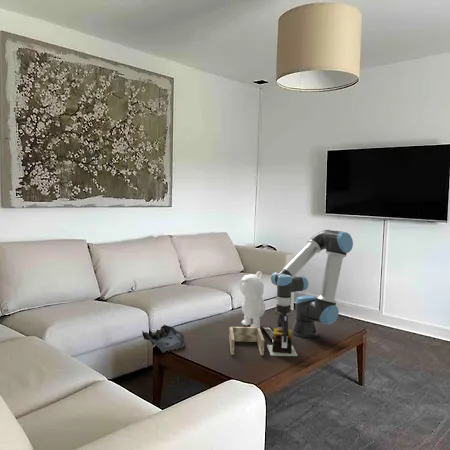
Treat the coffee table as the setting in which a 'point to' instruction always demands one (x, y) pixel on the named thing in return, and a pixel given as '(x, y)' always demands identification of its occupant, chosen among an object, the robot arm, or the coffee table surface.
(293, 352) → the felt mat
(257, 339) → the wooden u-shaped frame
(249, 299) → the teddy bear
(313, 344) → the coffee table surface
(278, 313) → the eiffel tower figurine
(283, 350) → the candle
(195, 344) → the coffee table surface
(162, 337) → the crumpled grey paper
